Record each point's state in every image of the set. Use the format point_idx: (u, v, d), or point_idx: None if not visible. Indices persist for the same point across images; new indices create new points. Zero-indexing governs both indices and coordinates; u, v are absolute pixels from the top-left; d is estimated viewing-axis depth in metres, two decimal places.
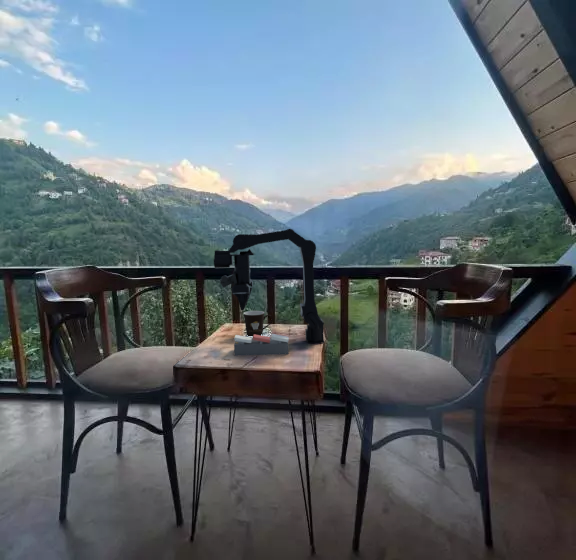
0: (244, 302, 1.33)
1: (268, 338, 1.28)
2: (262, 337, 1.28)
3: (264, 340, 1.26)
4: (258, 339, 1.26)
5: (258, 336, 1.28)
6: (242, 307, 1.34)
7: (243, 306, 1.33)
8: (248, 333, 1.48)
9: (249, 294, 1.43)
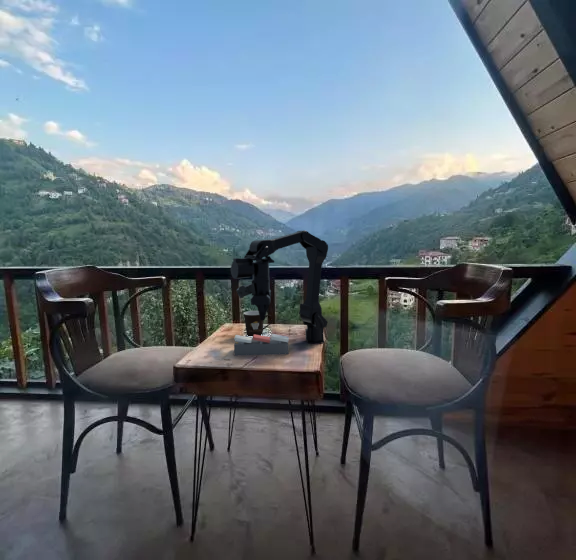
0: (264, 312, 1.26)
1: (268, 338, 1.28)
2: (262, 337, 1.28)
3: (264, 340, 1.26)
4: (258, 339, 1.26)
5: (258, 336, 1.28)
6: (262, 317, 1.27)
7: (263, 316, 1.26)
8: (248, 333, 1.48)
9: None
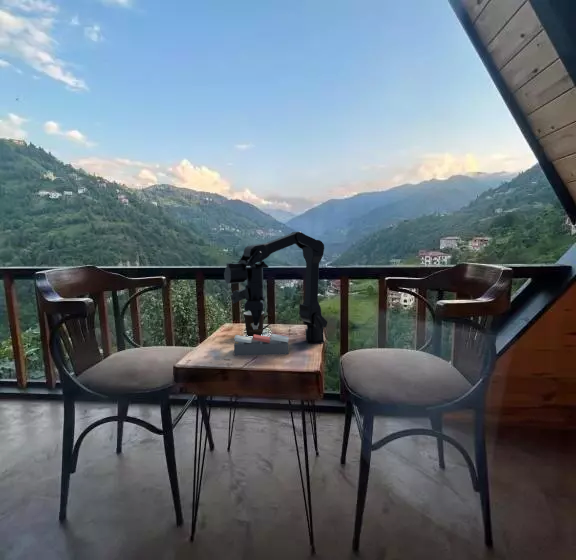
0: (258, 317, 1.26)
1: (268, 338, 1.28)
2: (262, 337, 1.28)
3: (264, 340, 1.26)
4: (258, 339, 1.26)
5: (258, 336, 1.28)
6: (256, 322, 1.27)
7: (257, 321, 1.26)
8: (248, 333, 1.48)
9: None
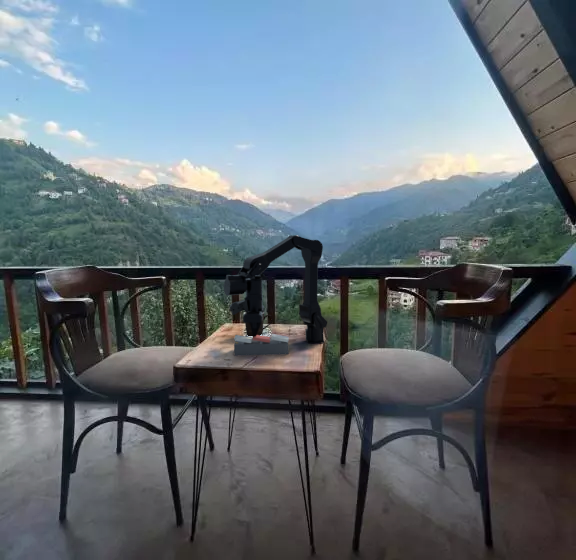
0: (256, 328, 1.26)
1: (268, 338, 1.28)
2: (262, 337, 1.28)
3: (264, 340, 1.26)
4: (258, 339, 1.26)
5: (258, 336, 1.28)
6: (254, 333, 1.27)
7: (255, 332, 1.27)
8: (248, 333, 1.48)
9: None
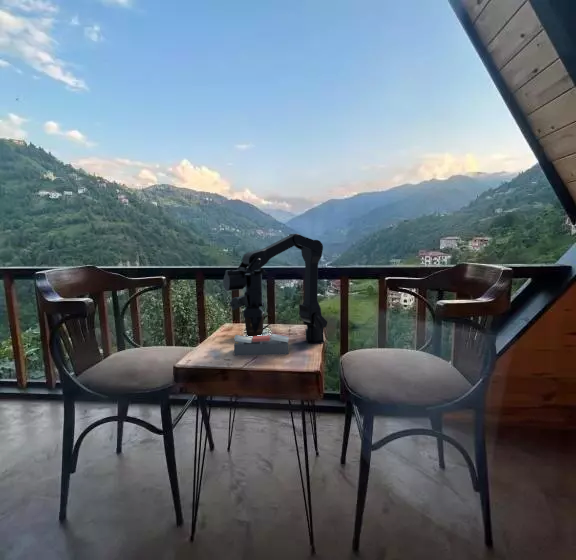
0: (257, 323, 1.26)
1: (267, 336, 1.28)
2: (261, 337, 1.28)
3: (264, 339, 1.26)
4: (258, 340, 1.26)
5: (257, 337, 1.28)
6: (255, 329, 1.27)
7: (256, 328, 1.27)
8: (248, 333, 1.48)
9: None
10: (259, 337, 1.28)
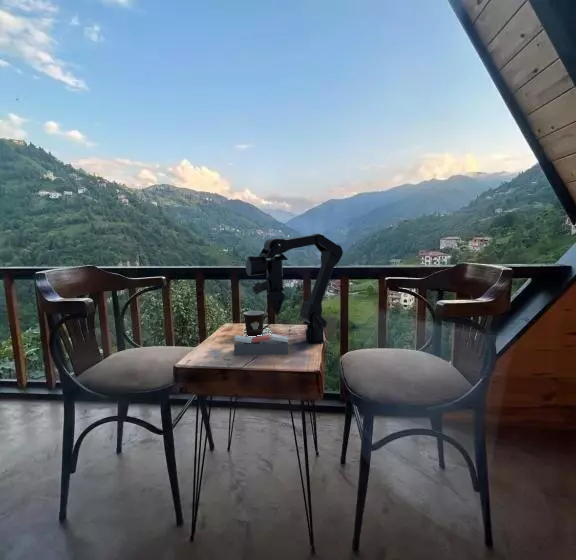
0: (279, 307, 1.32)
1: (267, 336, 1.28)
2: (261, 337, 1.28)
3: (264, 339, 1.26)
4: (258, 340, 1.26)
5: (257, 337, 1.28)
6: (276, 312, 1.33)
7: (277, 311, 1.33)
8: (248, 333, 1.48)
9: None
10: (259, 337, 1.28)
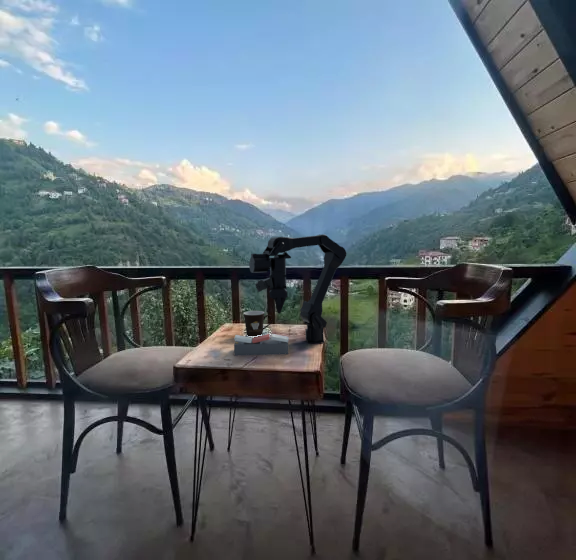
0: (281, 305, 1.33)
1: (267, 335, 1.28)
2: (261, 337, 1.28)
3: (263, 339, 1.26)
4: (257, 340, 1.26)
5: (257, 337, 1.28)
6: (279, 310, 1.33)
7: (280, 309, 1.33)
8: (248, 333, 1.48)
9: None
10: (259, 337, 1.28)
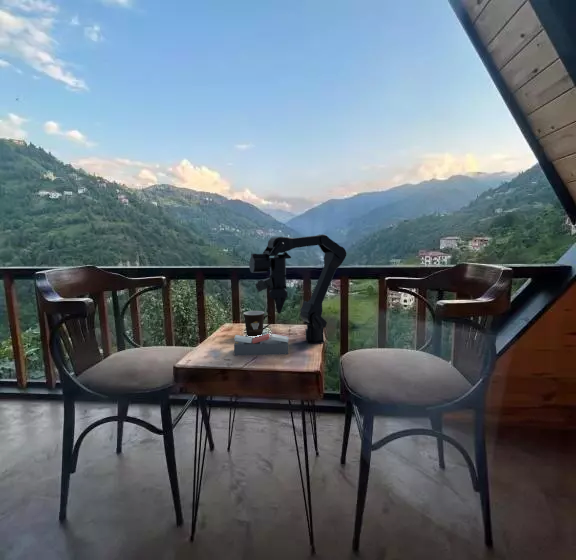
0: (281, 305, 1.33)
1: (266, 335, 1.28)
2: (261, 337, 1.28)
3: (263, 339, 1.26)
4: (257, 340, 1.26)
5: (257, 338, 1.28)
6: (279, 310, 1.33)
7: (280, 309, 1.33)
8: (248, 333, 1.48)
9: None
10: (258, 338, 1.28)
